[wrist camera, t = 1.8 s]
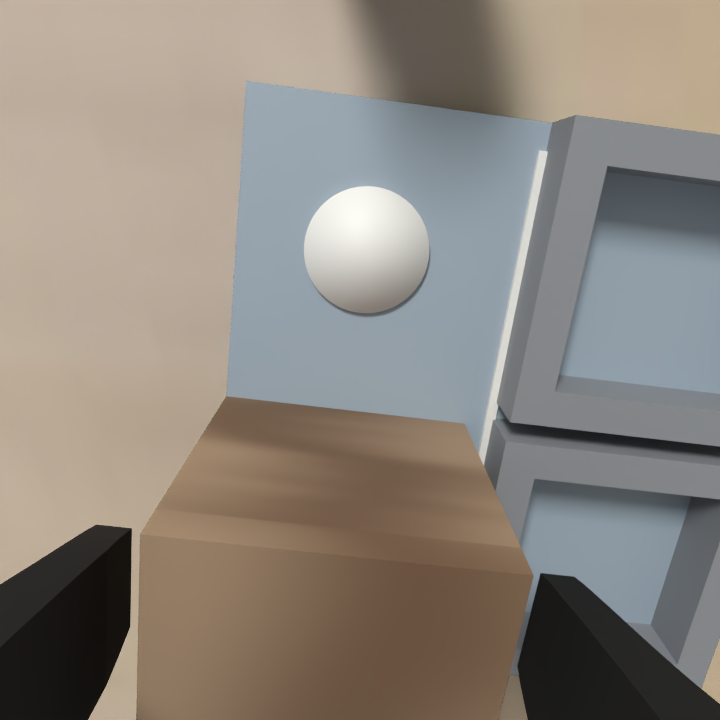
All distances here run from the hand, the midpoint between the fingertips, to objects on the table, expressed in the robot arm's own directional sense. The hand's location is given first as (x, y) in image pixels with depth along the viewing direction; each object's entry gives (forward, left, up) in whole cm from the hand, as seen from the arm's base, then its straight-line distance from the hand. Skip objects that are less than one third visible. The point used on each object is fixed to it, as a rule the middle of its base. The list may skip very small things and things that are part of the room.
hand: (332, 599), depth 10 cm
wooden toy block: (0, 0, -3) cm, 3 cm away
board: (+3, +2, -4) cm, 5 cm away
